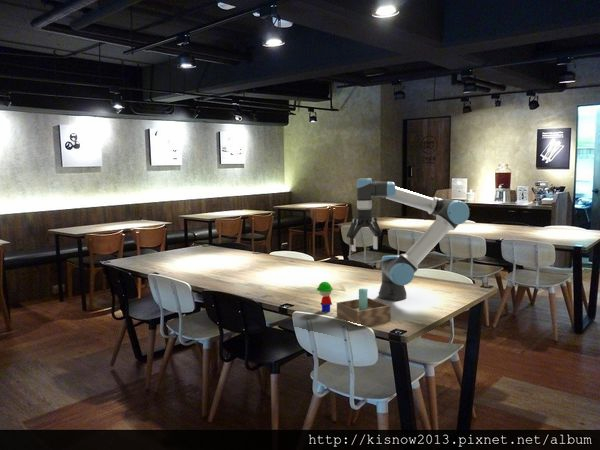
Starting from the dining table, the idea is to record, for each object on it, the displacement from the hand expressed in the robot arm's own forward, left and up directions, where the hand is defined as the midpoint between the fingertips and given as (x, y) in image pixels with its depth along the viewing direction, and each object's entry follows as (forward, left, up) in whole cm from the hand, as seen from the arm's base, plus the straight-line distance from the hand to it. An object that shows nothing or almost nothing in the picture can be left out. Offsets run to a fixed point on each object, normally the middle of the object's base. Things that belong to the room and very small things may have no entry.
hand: (364, 250), depth 254 cm
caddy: (+15, +20, -29) cm, 38 cm away
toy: (+24, 0, -29) cm, 38 cm away
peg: (+15, +20, -29) cm, 38 cm away
